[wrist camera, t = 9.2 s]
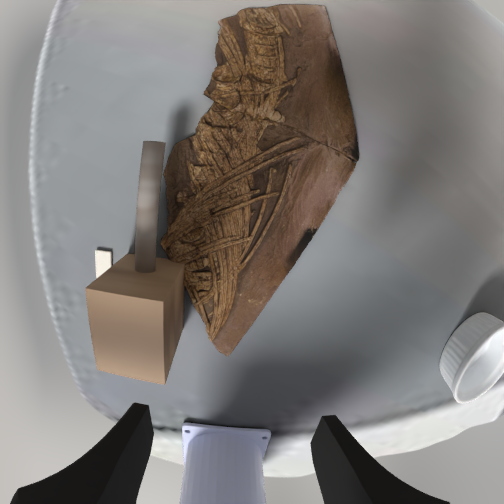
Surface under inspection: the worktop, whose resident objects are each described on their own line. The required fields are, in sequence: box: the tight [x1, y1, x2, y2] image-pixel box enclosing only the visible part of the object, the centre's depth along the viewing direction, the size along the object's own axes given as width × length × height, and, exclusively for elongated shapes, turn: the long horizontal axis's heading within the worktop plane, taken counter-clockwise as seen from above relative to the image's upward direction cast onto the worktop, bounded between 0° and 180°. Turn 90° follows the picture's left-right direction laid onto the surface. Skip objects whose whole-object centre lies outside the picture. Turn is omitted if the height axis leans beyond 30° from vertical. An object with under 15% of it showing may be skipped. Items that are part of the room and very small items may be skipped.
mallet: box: [85, 141, 185, 385], centre depth 15 cm, size 12×4×6 cm, turn 172°
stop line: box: [95, 250, 112, 279], centre depth 18 cm, size 6×1×1 cm, turn 172°
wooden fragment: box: [160, 4, 359, 356], centre depth 16 cm, size 26×11×1 cm, turn 163°
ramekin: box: [440, 312, 504, 403], centre depth 20 cm, size 9×9×4 cm
